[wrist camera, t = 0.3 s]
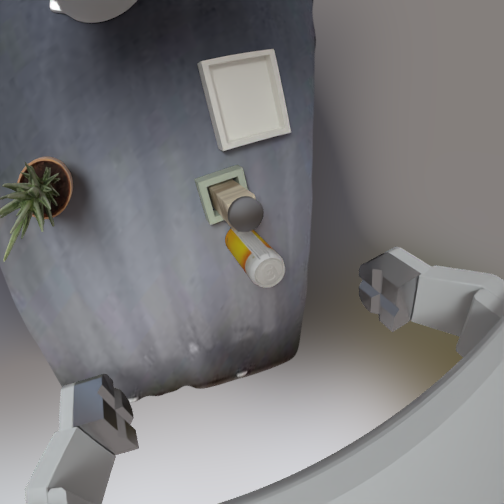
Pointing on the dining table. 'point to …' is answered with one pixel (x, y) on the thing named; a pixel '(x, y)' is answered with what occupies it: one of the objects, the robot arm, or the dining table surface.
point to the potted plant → (38, 194)
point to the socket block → (215, 178)
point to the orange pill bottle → (256, 257)
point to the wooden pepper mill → (236, 205)
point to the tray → (244, 98)
